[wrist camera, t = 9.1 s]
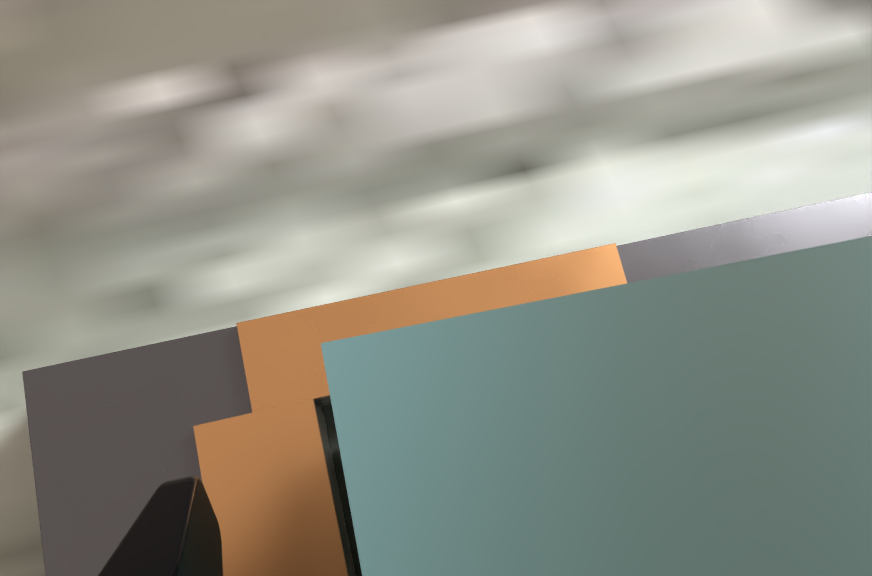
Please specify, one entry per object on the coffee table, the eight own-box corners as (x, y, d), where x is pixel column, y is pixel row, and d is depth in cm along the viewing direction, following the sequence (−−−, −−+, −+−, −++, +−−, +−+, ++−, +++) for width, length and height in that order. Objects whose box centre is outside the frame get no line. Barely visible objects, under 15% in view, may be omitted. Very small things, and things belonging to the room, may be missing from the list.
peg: (538, 393, 16) (1093, 193, 4) (581, 575, 16) (1481, 1115, 3) (365, 429, 16) (319, 343, 3) (400, 620, 15) (531, 1509, 2)
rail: (1090, 161, 19) (1186, 122, 17) (1245, 508, 17) (1376, 517, 15) (66, 381, 16) (14, 369, 13) (125, 840, 14) (76, 916, 12)
